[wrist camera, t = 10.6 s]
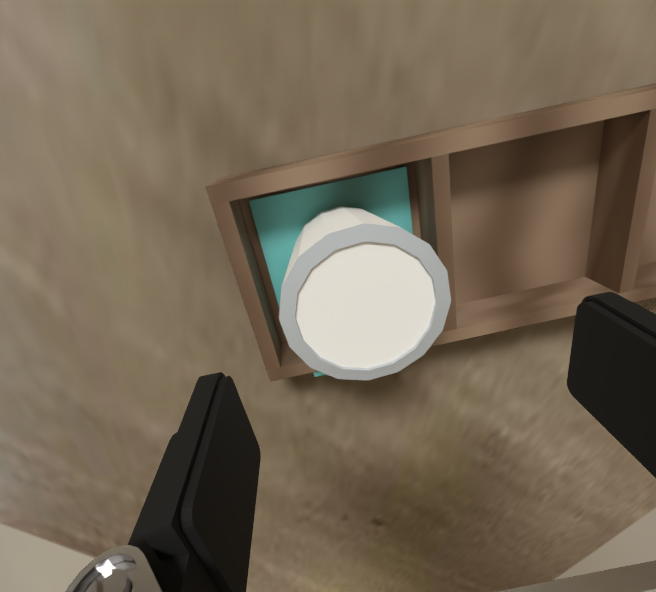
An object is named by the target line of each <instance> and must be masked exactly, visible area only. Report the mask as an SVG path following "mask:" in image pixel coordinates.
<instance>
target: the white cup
mask: <svg viewBox="0 0 656 592" xmlns="http://www.w3.org/2000/svg"><path fill="white" fill-rule="evenodd" d="M450 304H451V295H450V288H449V280H448V273H447V270H446V268H445V267H444V265H443V264H442V262H441V261H440V259H439V258H438V256H437V255H436V253H435V252H434V250H433V249H432V247H431V246H430V244H428V243H426V242H425V241H423V240H421V239H420V238H418V237H416V236H414V235H413V234H411V233H409V232H408V231H406V230H404V229H403V228H401V227H399V226H397V225H395V224H393V223H390V222H388V221H386V220H384V219H382V218H380V217H378V216H376V215H374V214H372V213H369V212H367V211H365V210H363V209H361V208H354V207H345V206H339V207H335V208H332V209H329V210H325V211H322V212H320V213H319V214H318V215H316V216H315V217H314V218H313V219H311V220H310V221H309V222H308V223H306V224H305V225H304V227H303V229H302V231H301V233H300V235H299V237H298V238H297V240H296V242H295V245H294V248H293V252H292V255H291V258H290V261H289V265H288V268H287V271H286V274H285V277H284V281H283V284H282V287H281V299H280V311H279V321H280V323H281V326H282V329H283V331H284V334H285V336H286V339H287V342H288V344H289V347H290V348H291V349H292V350H293V351H294V352H295V353H296V354H297V355H298V356H299V357H300V358H301V359H302V360H303V361H304V362H305V363H306V364H307V365H308V366H309V367H310V368H312V369H315V370H317V371H320V372H322V373H325V374H327V375H329V376H332V377H334V378H337V379H348V380H372V379H375V378H379V377H382V376H386V375H389V374H393V373H396V372H399V371H400V370H402V369H403V368H405V367H406V366H408V365H409V364H411V363H412V362H414V361H415V360H417V359H418V358H420V357H421V356H423V355H424V354H425V353H426V352H427V350H428V349H429V348H430V346H431V345H432V344H433V342H434V341H435V340H436V338H437V337H438V336H439V334H440V333H441V332H442V331H443V328H444V324H445V321H446V317H447V314H448V310H449V307H450Z"/></svg>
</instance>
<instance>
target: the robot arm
mask: <svg viewBox="0 0 656 592" xmlns="http://www.w3.org/2000/svg"><path fill="white" fill-rule="evenodd" d="M567 386H568V389H569V391H570V393H571V394H572V396H573V397H574V398H575V399H576V400H577V401H578V402H579V403H580V404H581V405H582V406H583V407H584V408H585V409H586V410H587V411H588V412H589V413H590V414H591V415H592V416H593V417H595V418H596V419H597V420H598V421H599V422H600V423H601V424H602V425H603V426H604V427H605V428H606V429H607V430H608V431H609V432H610V433H611V434H612V435H613V436H614V437H615V438H616V439H617V440H618V441H619V442H620V443H621V444H622V445H623V446H624V447H625V448H626V449H627V450H628V451H629V452H630V453H631V454H632V455H633V456H634V457H635V458H636V459H637V460H638V461H639V462H640V463H641V464H642V465H643V466H644V467H645V468H646V469H647V470H648V471H649V472H650V473H651V474H652V475H653V476H654V477H655V478H656V314H654V313H652V312H650V311H648V310H646V309H644V308H643V307H641V306H639V305H637V304H635V303H633V302H631V301H629V300H627V299H626V298H624V297H622V296H620V295H618V294H616V293H614V292H605V293H600V294H595V295H590V296H587V297H585V298H584V299H583V300H582V303H580V304H579V305H578V306H577V310H576V318H575V325H574V333H573V340H572V348H571V355H570V363H569V370H568V378H567ZM259 467H260V448H259V445H258V442H257V440H256V437H255V435H254V432H253V430H252V427H251V425H250V422H249V419H248V417H247V414H246V412H245V409H244V407H243V404H242V402H241V399H240V397H239V394H238V392H237V389H236V387H235V384H234V382H233V379H232V378H231V377H230V376H227V377H225V375H224V374H223V373H221V372H219V373H215V374H210V375H205V376H201V377H199V379H198V381H197V383H196V386H195V388H194V391H193V394H192V396H191V399H190V401H189V404H188V406H187V409H186V412H185V414H184V417H183V419H182V422H181V425H180V427H179V430H178V432H177V433H175V434H174V435H173V436H172V438H171V439H170V441H169V444H168V446H167V449H166V451H165V453H164V456H163V458H162V461H161V463H160V466H159V468H158V471H157V473H156V476H155V478H154V481H153V483H152V486H151V488H150V491H149V493H148V496H147V498H146V501H145V503H144V506H143V508H142V511H141V513H140V516H139V518H138V521H137V523H136V526H135V528H134V530H133V533H132V535H131V538H130V540H129V543H128V545H124V546H118V547H115V548H113V549H110V550H108V551H106V552H104V553H103V554H101V555H100V556H98V557H97V558H95V559H94V560H92V561H91V562H90V563H89V564H88V565H87V566H86V567H85V568H84V569H83V570H82V571H80V572H79V574H78V575H77V576H76V578H75V579H74V580H73V581H72V583H71V584H70V585H69V586H68V588H67V590H66V592H246V586H247V577H248V568H249V558H250V549H251V540H252V531H253V522H254V513H255V504H256V495H257V486H258V476H259ZM497 592H656V561H651V562H645V563H641V564H635V565H630V566H625V567H620V568H615V569H609V570H604V571H600V572H594V573H589V574H585V575H579V576H574V577H569V578H564V579H559V580H553V581H548V582H543V583H538V584H533V585H528V586H523V587H518V588H513V589H508V590H502V591H497Z"/></svg>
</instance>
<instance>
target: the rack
mask: <svg viewBox="0 0 656 592" xmlns="http://www.w3.org/2000/svg"><path fill="white" fill-rule="evenodd" d="M206 190H207V193H208V196H209V199H210V202H211V205H212V208H213V211H214V214H215V217H216V220H217V223H218V226H219V229H220V232H221V235H222V238H223V241H224V244H225V247H226V250H227V253H228V256H229V259H230V262H231V265H232V268H233V271H234V274H235V277H236V280H237V283H238V286H239V289H240V292H241V295H242V298H243V301H244V304H245V307H246V310H247V313H248V316H249V319H250V322H251V325H252V328H253V331H254V334H255V337H256V340H257V343H258V346H259V349H260V352H261V355H262V358H263V361H264V364H265V367H266V370H267V373H268V376H269V379H270V382H271V381H275V380H280V379H285V378H289V377H294V376H298V375H303V374H307V373H312V372H313V373H314V377H317V376H322V375H326V374H325V373H322V372H320V371H317V370H315V369H312V368H310V367H309V366H308V365H307V364H306V363H305V362H304V361H303V360H302V359H301V358H300V357H299V356H298V355H297V354H296V353H295V352H294V351H293V350H292V349H291V348H290V347H289V344H288V342H287V339H286V336H285V334H284V331H283V329H282V326H281V323H280V321H279V311H280V299H281V287H282V284H283V281H284V277H285V274H286V271H287V268H288V265H289V261H290V258H291V255H292V252H293V248H294V245H295V242H296V240H297V238H298V237H299V235H300V233H301V231H302V229H303V227H304V225H305V224H306V223H308V222H309V221H310V220H311V219H313V218H314V217H315V216H316V215H318V214H319V213H320V212H322V211H325V210H329V209H332V208H335V207H339V206H345V207H354V208H361V209H363V210H365V211H367V212H369V213H372V214H374V215H376V216H378V217H380V218H382V219H384V220H386V221H388V222H390V223H393V224H395V225H397V226H399V227H401V228H403V229H404V230H406V231H408V232H409V233H411V234H413V235H414V236H416V237H418V238H420V239H421V240H423V241H425V242H426V243H428V244H430V246H431V247H432V249H433V250H434V252H435V253H436V255H437V256H438V258H439V259H440V261H441V262H442V264H443V265H444V267H445V268H446V270H447V273H448V280H449V288H450V295H451V304H450V307H449V310H448V314H447V317H446V321H445V324H444V328H443V331H442V332H441V333H440V334H439V336H438V337H437V338H436V340H435V341H434V342H433V344H432V345H431V346H436V345H440V344H445V343H450V342H454V341H459V340H463V339H468V338H472V337H477V336H482V335H486V334H491V333H495V332H500V331H505V330H509V329H514V328H518V327H523V326H527V325H532V324H537V323H541V322H546V321H550V320H555V319H560V318H564V317H569V316H573V315H576V310H577V306H578V305H579V304H580V303H582V300H583V299H584V298H585V297H587V296H590V295H595V294H600V293H605V292H614V293H616V294H618V295H620V296H622V297H624V298H626V299H627V300H629V301H631V302H637V301H642V300H647V299H651V298H656V84H652V85H647V86H643V87H638V88H634V89H629V90H624V91H620V92H615V93H611V94H606V95H601V96H597V97H592V98H588V99H583V100H578V101H574V102H569V103H565V104H560V105H555V106H551V107H546V108H542V109H537V110H532V111H528V112H523V113H519V114H514V115H509V116H505V117H500V118H496V119H491V120H486V121H482V122H477V123H473V124H468V125H463V126H459V127H454V128H450V129H445V130H440V131H436V132H431V133H427V134H422V135H417V136H413V137H408V138H404V139H399V140H394V141H390V142H385V143H381V144H376V145H371V146H367V147H362V148H358V149H353V150H348V151H344V152H339V153H335V154H330V155H325V156H321V157H316V158H312V159H307V160H302V161H298V162H293V163H289V164H284V165H279V166H275V167H270V168H266V169H261V170H256V171H252V172H247V173H243V174H238V175H233V176H229V177H224V178H220V179H218V180H216V181H215V182H213V183H212V184H210V185H208V186H207V187H206ZM431 346H430V347H431Z"/></svg>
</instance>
